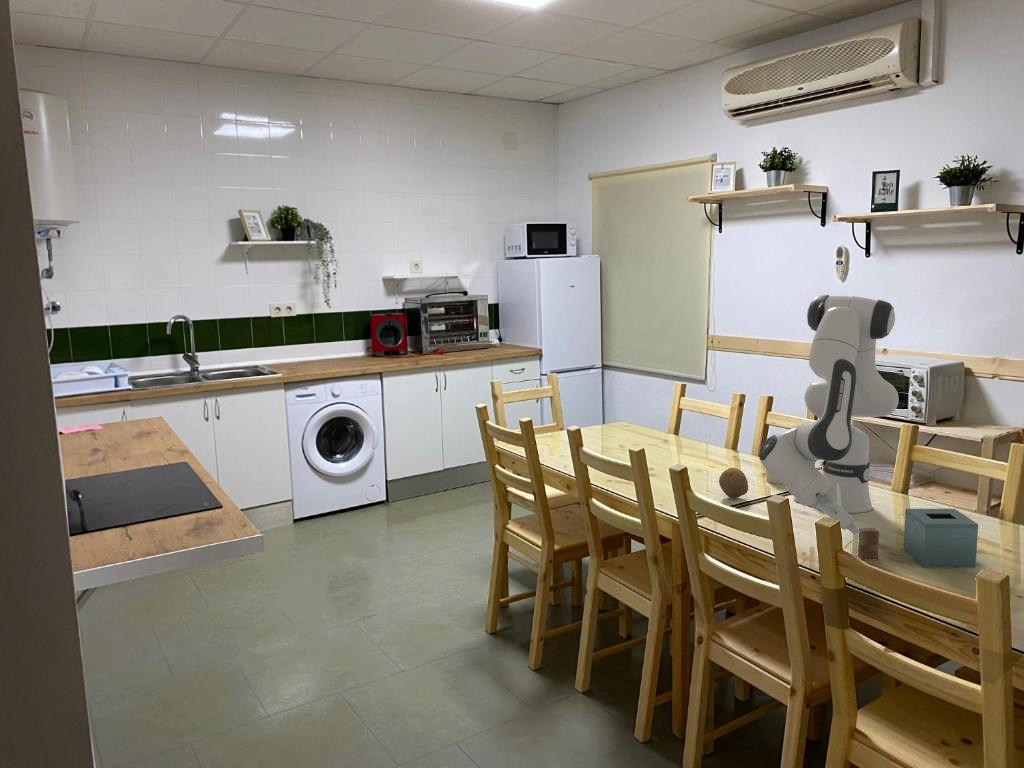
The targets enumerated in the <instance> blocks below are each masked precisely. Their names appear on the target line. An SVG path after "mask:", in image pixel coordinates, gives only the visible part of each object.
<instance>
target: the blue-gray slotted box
mask: <svg viewBox="0 0 1024 768" xmlns="http://www.w3.org/2000/svg"><path fill="white" fill-rule="evenodd" d="M904 510H905V512H904V515H905V516H904V531H903V532H904V533H903V534H904V535H903V550H904V551H905V552H906V553H907V554H908V555H909V554H910V555H911V556H912V559H914V560H915V561H916V562H917V563H918V564H919V565H920V564H921V565H920V566H922V568H943V569H944V568H945V569H946V568H948V569H949V568H954V569H955V568H958V569H959V568H960V569H962V568H964V569H965V568H966V569H971V568H972V569H976V566H977V548H978V534H979V523H977V522H976V521H974V520H972V518H970V517H968V516H967V515H965V514H963V513H962V512H961V511H960V510H957V509H956V508H905V509H904ZM910 555H909V556H910ZM911 556H910V557H911Z"/></svg>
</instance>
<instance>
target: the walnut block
mask: <svg viewBox="0 0 1024 768" xmlns="http://www.w3.org/2000/svg"><path fill="white" fill-rule="evenodd" d="M858 529H859V530H860V533H858V542H857V543H858V544H857V545H858V546H857V547H858V549H857V557H858V558H859V559H860V558H861V559H862V561H863V560H864V561H866V560H865V559H867V560H868V559H878V560H879V544H880V543H879V542H880V531H879V530H878V528H876V527H859V528H858ZM861 559H860V560H861ZM868 561H869V560H868Z"/></svg>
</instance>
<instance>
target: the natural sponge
mask: <svg viewBox="0 0 1024 768" xmlns="http://www.w3.org/2000/svg"><path fill="white" fill-rule="evenodd" d="M718 484H719V487H720V488H721V490H722V492H723V493H724V494H725V496H727V497H728V498H729V499H731V498H733V499H735V498H736V499H738V498H740V497H742V496H744V495H746V494H747V493H748V491H749V482H748V480H747V477H746V474H745V473H744V472H743V471H742V470H740V469H739V468H738V467H737V468H736V467H730V468H727V469H725V470H724V471H723V472H722V473H721V474H720V476H719V478H718ZM733 499H732V500H733Z"/></svg>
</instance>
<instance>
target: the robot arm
mask: <svg viewBox="0 0 1024 768" xmlns="http://www.w3.org/2000/svg"><path fill="white" fill-rule="evenodd" d="M894 310H895V308H894V306H893V305H892V303H890V302H888V301H886V300H881V299H878V300H877V299H871V298H868V297H861V296H854V295H853V296H847V295H845V296H843V295H835V296H834V295H830V294H823V295H817V296H815V297H814V298H813V299H812V300H811V301H810V304H809V305H808V309H807V312H806V319H807V320H806V321H807V325H808V326H809V328H810V329H811V331H814V332H815V334H814V336H813V339H812V343H811V346H810V347H811V348H810V349H809V356H808V365H809V368H810V369H811V371H812V372H813V374H814V375H816V376H817V377H818V378H821V380H819V381H818V380H817V381H813V382H811V383H809V385H808V386H807V388H806V389H805V393H804V404H805V406H806V408H807V409H808V411H809V413H810V412H811V414H813V415H814V416H815V417H817V418H818V419H817V420H815V421H809V422H808V421H807V422H803V423H797V424H795V425H794V426H792V427H791V428H790V429H788V430H787V431H785V432H781V433H779V434H773V435H770V436H769V437H768V438H767V439H766V440H765V441H764V442H763V443H762V445H761V446H760V449H759V452H758V457H759V461H760V462H761V464H762V465H763V466H764V468H765V469H767V470H768V471H769V472H770V473H771V474H772V475H773V477H774V478H776V479H777V480H778V481H779V482H780V483H782V484H781V485H784V486H785V487H786V489H787V491H788V492H789V493H790V495H792V496H793V497H794V498H793V501H794V502H796V503H801V504H802V506H804V507H813V508H817V509H819V510H821V511H822V512H823V513H824V514H826V515H827V516H828V517H829V518H830V520H832V519H834V520H838V521H840V525H841V529H842V530H843V531H846V530H848V531H849V532H850V533H851V534H853V535H854V536H857V535H859V533H860V530H859V528H858V527H857V526H856V525H855V518H853V517H852V516H851V515H850V514H851V513H853V514H855V513H866V512H870V511H871V510H873V505H872V502H871V495H870V489H869V488H870V487H869V480H870V476H871V473H870V472H871V469H870V467H871V466H870V465H871V463H870V462H869V452H870V438H869V437H868V435H867V433H865V432H864V431H862V430H861V429H859V428H857V427H856V426H853V425H852V424H851V423H852V417H854V418H880V417H886V416H890V415H892V414H893V413H894V412H895V411H896V410H897V408H898V405H899V401H900V400H899V399H900V398H899V393H898V390H897V389H896V388H895V386H894V385H893V384H891V383H890V382H888V381H887V380H886V379H884V378H883V376H882V375H881V374H880V373H879V372H878V369H877V365H876V346H877V340H880V339H881V340H882V339H884V338H886V337H887V336H888V335H889V334H891V333H890V332H891V331H892V330H893V327H894V326H895V322H896V315H895V311H894ZM822 460H823V461H822ZM818 461H820V464H819V465H820V467H822V466H823V468H822V470H819V469H817V467H816V466H815V463H817V462H818ZM849 513H850V514H849Z"/></svg>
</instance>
